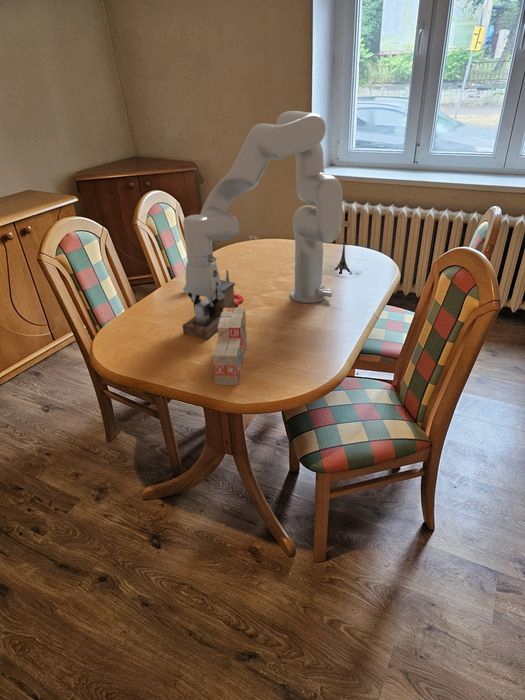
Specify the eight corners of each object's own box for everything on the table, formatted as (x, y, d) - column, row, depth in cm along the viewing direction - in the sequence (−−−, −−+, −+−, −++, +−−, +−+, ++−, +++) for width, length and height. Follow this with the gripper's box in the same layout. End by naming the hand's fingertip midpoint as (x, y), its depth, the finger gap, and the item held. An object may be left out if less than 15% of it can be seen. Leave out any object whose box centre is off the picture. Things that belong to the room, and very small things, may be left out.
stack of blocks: (238, 386, 119) (236, 345, 112) (215, 385, 119) (211, 345, 113) (246, 343, 137) (245, 306, 131) (226, 343, 138) (223, 306, 131)
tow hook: (222, 296, 167) (216, 306, 159) (220, 262, 161) (214, 270, 153) (245, 297, 166) (240, 307, 158) (244, 263, 160) (238, 271, 152)
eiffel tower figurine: (319, 275, 182) (320, 242, 175) (327, 266, 190) (328, 234, 183) (356, 280, 176) (359, 246, 169) (363, 271, 184) (366, 238, 177)
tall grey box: (217, 323, 148) (215, 298, 143) (205, 333, 143) (202, 307, 138) (209, 321, 149) (207, 296, 145) (197, 331, 144) (194, 305, 139)
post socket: (239, 313, 154) (237, 283, 148) (207, 339, 139) (204, 307, 134) (216, 308, 157) (214, 278, 152) (183, 333, 143) (179, 301, 137)
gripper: (231, 258, 133) (235, 314, 143) (184, 251, 140) (190, 304, 150) (217, 267, 128) (222, 325, 137) (169, 258, 135) (176, 314, 144)
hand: (205, 313), depth 144 cm, fingers open, 4 cm apart
